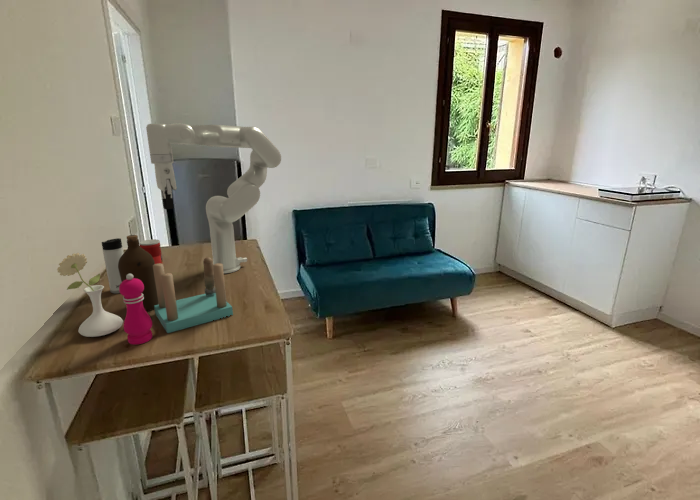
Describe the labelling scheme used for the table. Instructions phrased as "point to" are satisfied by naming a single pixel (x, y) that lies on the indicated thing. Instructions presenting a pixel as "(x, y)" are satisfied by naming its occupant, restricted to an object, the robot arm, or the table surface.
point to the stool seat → (189, 302)
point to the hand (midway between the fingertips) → (168, 208)
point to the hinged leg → (209, 276)
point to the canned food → (153, 249)
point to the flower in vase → (99, 319)
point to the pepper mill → (135, 311)
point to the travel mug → (113, 262)
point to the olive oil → (139, 270)
